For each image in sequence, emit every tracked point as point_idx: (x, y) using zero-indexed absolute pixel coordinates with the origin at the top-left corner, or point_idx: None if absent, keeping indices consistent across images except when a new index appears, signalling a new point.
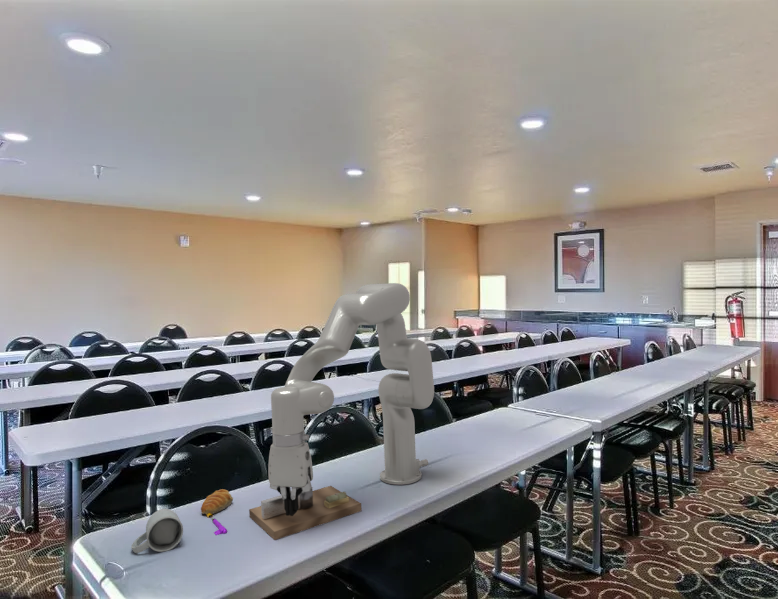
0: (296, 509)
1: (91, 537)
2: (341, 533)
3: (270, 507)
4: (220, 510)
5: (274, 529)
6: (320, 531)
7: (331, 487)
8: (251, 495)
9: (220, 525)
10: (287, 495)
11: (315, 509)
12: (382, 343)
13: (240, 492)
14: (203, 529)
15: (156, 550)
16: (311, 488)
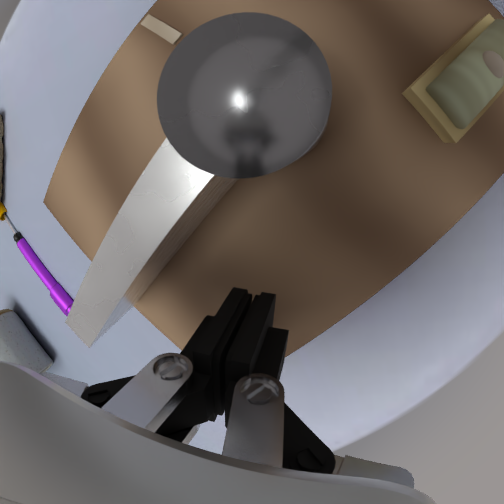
0: (284, 356)
1: None
2: (486, 313)
3: (121, 312)
4: (1, 174)
5: None
6: (410, 305)
7: None
8: (24, 44)
9: (45, 284)
10: (198, 424)
11: (363, 156)
12: None
13: (4, 47)
14: (30, 282)
15: (45, 371)
16: (408, 481)
